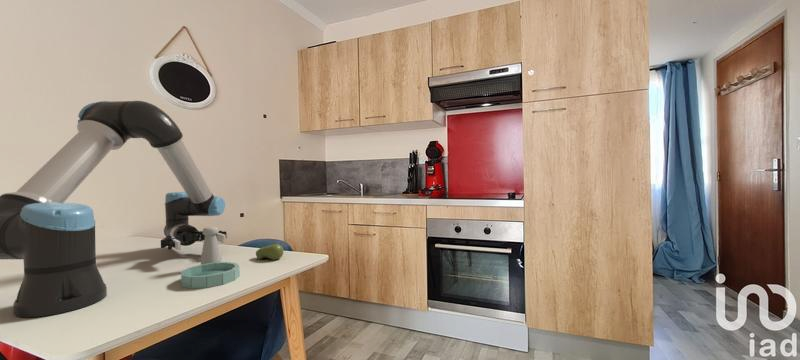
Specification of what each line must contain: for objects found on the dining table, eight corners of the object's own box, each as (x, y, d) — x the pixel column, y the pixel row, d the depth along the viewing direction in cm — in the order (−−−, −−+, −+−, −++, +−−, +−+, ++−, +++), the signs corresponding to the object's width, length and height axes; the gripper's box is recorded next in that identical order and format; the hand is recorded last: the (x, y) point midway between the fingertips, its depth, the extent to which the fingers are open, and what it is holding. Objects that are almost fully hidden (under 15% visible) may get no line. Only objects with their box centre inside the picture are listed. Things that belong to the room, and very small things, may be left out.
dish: (170, 289, 85) (170, 278, 85) (196, 273, 99) (196, 263, 99) (227, 286, 87) (227, 275, 87) (245, 270, 101) (245, 261, 101)
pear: (274, 245, 110) (250, 248, 113) (277, 260, 110) (253, 263, 113) (285, 241, 116) (262, 244, 119) (287, 256, 116) (264, 259, 118)
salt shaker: (205, 271, 100) (204, 229, 100) (197, 268, 104) (196, 227, 103) (225, 267, 105) (224, 226, 104) (216, 264, 108) (215, 224, 108)
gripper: (220, 239, 134) (241, 246, 119) (143, 250, 115) (158, 261, 101) (220, 220, 133) (241, 226, 119) (143, 229, 115) (157, 237, 101)
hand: (203, 242), depth 110 cm, fingers open, 13 cm apart
